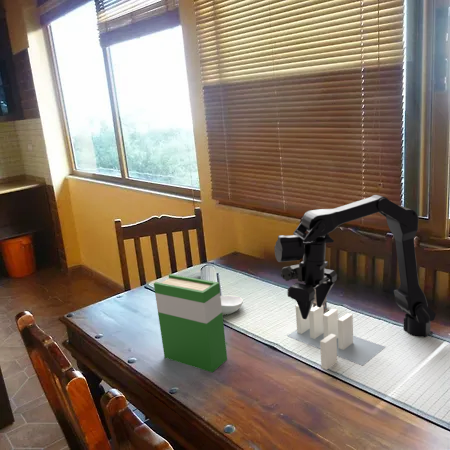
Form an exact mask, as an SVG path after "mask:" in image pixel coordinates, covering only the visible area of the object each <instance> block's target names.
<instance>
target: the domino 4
mask: <svg viewBox="0 0 450 450" xmlns="http://www.w3.org/2000/svg"><path fill="white" fill-rule="evenodd" d="M320 347H321V349H320V364H321V365H320V366H321V369H322V370H326V371H327V370H328V369H330V368H332V367H333V366H334V365H335V364H336V363H337V362H338V356H337V338H336V335H334V334H330V335H328V336H327V337H325V338H324V339H323V340H321V341H320Z"/></svg>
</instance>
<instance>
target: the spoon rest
mask: <svg viewBox="0 0 450 450" xmlns="http://www.w3.org/2000/svg"><path fill="white" fill-rule="evenodd" d="M220 296H221V306H222V315H223V314H225V316H226V314H227V315H231V314H233V313H235V312H237V311H238V310H239V309H240V308H241V307H242V305H243V304H244V300H243V298H241V296H237V295H231V294H229V295H227V294H226V295H225V294H224V295H220Z"/></svg>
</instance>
